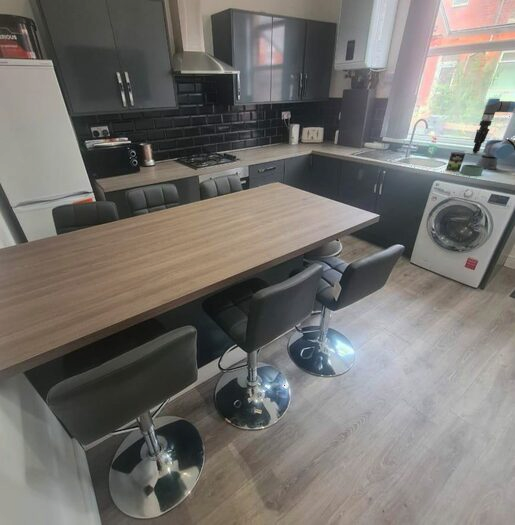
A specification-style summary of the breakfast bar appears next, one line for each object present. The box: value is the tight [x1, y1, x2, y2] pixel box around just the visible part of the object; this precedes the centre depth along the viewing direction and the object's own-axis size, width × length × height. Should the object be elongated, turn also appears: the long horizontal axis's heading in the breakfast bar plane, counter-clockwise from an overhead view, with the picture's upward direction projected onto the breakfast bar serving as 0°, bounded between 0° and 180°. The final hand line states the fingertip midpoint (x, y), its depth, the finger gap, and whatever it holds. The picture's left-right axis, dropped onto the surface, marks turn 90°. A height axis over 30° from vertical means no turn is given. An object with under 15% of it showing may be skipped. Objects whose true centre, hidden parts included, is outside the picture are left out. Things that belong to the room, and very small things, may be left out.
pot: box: [459, 164, 485, 177], centre depth 240 cm, size 15×15×6 cm
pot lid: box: [463, 142, 486, 156], centre depth 245 cm, size 16×16×9 cm
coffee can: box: [445, 151, 466, 173], centre depth 249 cm, size 10×10×14 cm
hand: (475, 151), depth 246 cm, fingers closed on pot lid, 3 cm apart
